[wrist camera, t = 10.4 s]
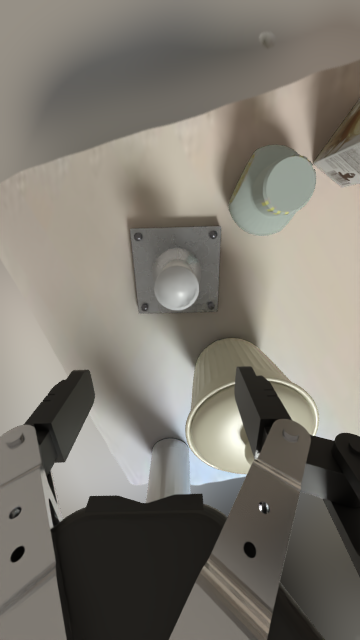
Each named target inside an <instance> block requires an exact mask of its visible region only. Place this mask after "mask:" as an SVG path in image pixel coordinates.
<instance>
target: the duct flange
mask: <svg viewBox="0 0 360 640" xmlns="http://www.w3.org/2000/svg"><path fill="white" fill-rule="evenodd" d="M130 234H131V243H132V253H133V262H134V271H135V281H136V290H137V300H138V309H139V313H178V312H217V309H218V286H219V264H220V241H221V226H206V227H170V228H135V229H130ZM173 259H182V260H184V261H186V262H187V263H188V264H189V265H190V266H191V268H192V271H193V273H194V275H195V276H196V278H197V281H198V284H199V293H198V297H197V299H196V300H195V302H194V303H193V304H192V305H191V306H189V307H188V308H186V309H183V310H171V309H168V308H166V307H164V306H163V305H161V304H160V302H159V301H158V300H157V298H156V296H155V291H154V285H155V281H156V279H157V277H158V275H159V274H160V272H161V271H162V270H163V268H164V266H165V265H166V263H167V262H169V261H170V260H173Z"/></svg>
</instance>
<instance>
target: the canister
mask: <svg viewBox="0 0 360 640" xmlns="http://www.w3.org/2000/svg"><path fill="white" fill-rule="evenodd" d="M240 366H251V367H252V368H253V370H254V372H255V374H256V376H261V375H262V376H263V377H265V378H266V379H267V380H268V381H269V382H270V383H271V385H272V386H273V388H274V391H276V393H277V395H278V397H279V398H280V400H281V402H282V403H283V405H284V407H285V409H286V410H287V412H288V414H289V415H290V417H291V419H292V420H293V421H295V422H297V423H299V424H301V425H302V426H303V427H304V428H305V429H306V430H307V431H308V433H309V434H310V435H313V436H315V435H316V432H317V429H318V425H319V413H318V409H317V406H316V404H315V402H314V400H313V399H312V398H311V396H310V395H309V394H308V393H307V392H306V391H305V390H304V389H302V388H301V387H300V386H298V385H296V384H294V383H292V382H291V381H290V380H289V379H288V378H287V377H286V376H285V375H284V374H283V373H282V371H281V370H280V369H279V368H278V367H277V366H276V365H275V364H274V363H273V362H272V361H271V360H270V359H269V358H268V357H267V356H266V355H265V354H264V353H263V352H262V351H261V350H260V349H259V348H258V347H257V346H255V345H253V344H252V343H251V342H247V341H246V340H242V339H239V338H238V339H236V338H227V339H222V340H218V341H216V342H213V343H212V344H211V345H208V347H207V348H205V349H204V351H203V352H202V353H201V354H200V356H199V357H198V360H197V362H196V366H195V371H194V379H193V389H192V402H191V411H190V413H189V415H188V418H187V421H186V428H185V432H186V439H187V442H188V445H189V447H190V449H191V450H192V452H193V453H194V454H195V455H196V456H197V457H198V458H199V459H200V460H201V461H203V462H204V463H206V464H207V465H209V466H211V467H214V468H216V469H219V470H222V471H226V472H231V473H237V474H247V473H248V471H249V469H250V467H251V465H252V463H253V461H254V460H255V459H254V456H253V453H252V450H251V447H250V444H249V441H248V438H247V435H246V432H245V429H244V425H243V422H242V419H241V416H240V413H239V410H238V407H237V404H236V401H235V395H234V387H235V376H236V368H237V367H240ZM256 460H257V459H256Z"/></svg>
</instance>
